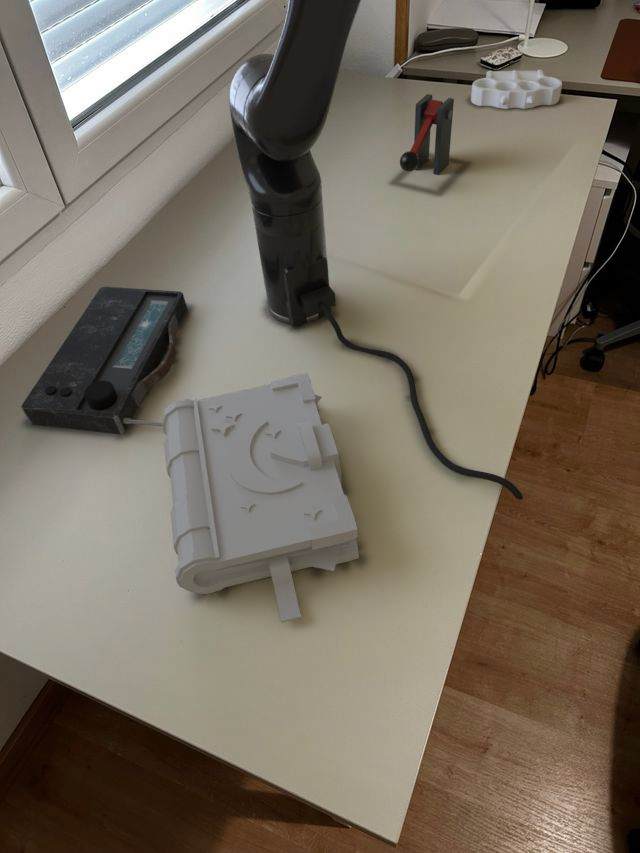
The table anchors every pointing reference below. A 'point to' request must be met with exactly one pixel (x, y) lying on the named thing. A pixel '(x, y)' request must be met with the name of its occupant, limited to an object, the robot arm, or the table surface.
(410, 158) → the lever
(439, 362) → the table surface
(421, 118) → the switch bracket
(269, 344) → the table surface
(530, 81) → the white muffin tray
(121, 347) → the radio
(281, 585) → the book
